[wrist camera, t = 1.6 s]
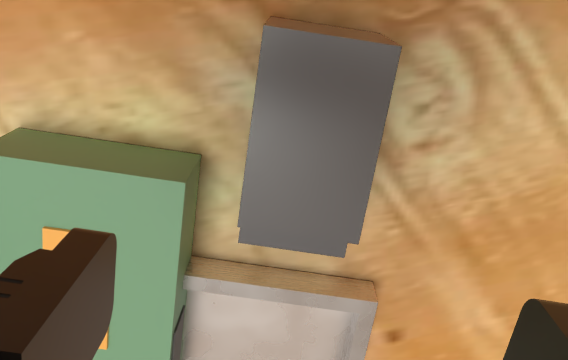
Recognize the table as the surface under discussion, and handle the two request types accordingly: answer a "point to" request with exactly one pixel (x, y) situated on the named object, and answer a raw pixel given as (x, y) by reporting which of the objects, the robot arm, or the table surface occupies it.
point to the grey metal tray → (273, 313)
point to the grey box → (314, 135)
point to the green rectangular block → (108, 225)
